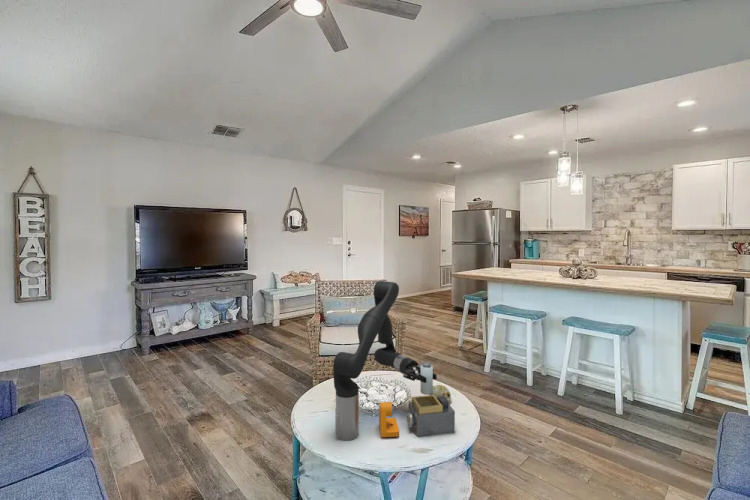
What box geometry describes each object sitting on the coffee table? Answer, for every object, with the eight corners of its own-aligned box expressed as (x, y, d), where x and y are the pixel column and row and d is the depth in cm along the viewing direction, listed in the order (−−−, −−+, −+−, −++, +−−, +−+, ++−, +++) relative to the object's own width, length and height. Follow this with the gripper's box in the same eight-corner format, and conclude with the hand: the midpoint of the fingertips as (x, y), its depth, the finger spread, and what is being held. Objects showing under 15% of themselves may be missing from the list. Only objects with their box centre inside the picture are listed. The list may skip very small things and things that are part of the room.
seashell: (455, 403, 170) (446, 386, 169) (437, 413, 170) (428, 395, 169) (450, 392, 180) (441, 376, 179) (432, 401, 180) (424, 385, 179)
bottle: (422, 395, 147) (423, 366, 146) (418, 389, 152) (419, 361, 151) (434, 394, 148) (434, 365, 147) (430, 388, 153) (430, 361, 152)
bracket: (399, 438, 143) (399, 409, 142) (381, 439, 143) (381, 409, 142) (395, 423, 154) (395, 396, 153) (379, 424, 153) (379, 397, 153)
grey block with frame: (412, 437, 143) (412, 408, 143) (404, 423, 154) (404, 395, 153) (454, 432, 147) (454, 404, 146) (444, 418, 158) (444, 392, 157)
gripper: (392, 360, 157) (417, 373, 143) (418, 354, 165) (444, 366, 151) (392, 377, 158) (417, 392, 143) (418, 370, 165) (443, 383, 151)
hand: (430, 378), depth 147 cm, fingers closed on bottle, 5 cm apart
